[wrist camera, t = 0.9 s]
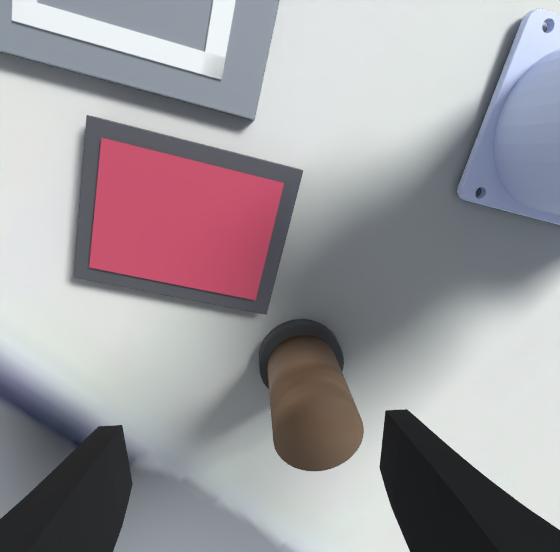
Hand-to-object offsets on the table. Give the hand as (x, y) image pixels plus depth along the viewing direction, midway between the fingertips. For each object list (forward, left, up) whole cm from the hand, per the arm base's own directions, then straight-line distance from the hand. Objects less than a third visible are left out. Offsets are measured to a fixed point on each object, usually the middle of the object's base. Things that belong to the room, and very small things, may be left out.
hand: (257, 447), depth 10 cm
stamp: (-3, +2, -10) cm, 10 cm away
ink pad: (+4, -4, -10) cm, 11 cm away
